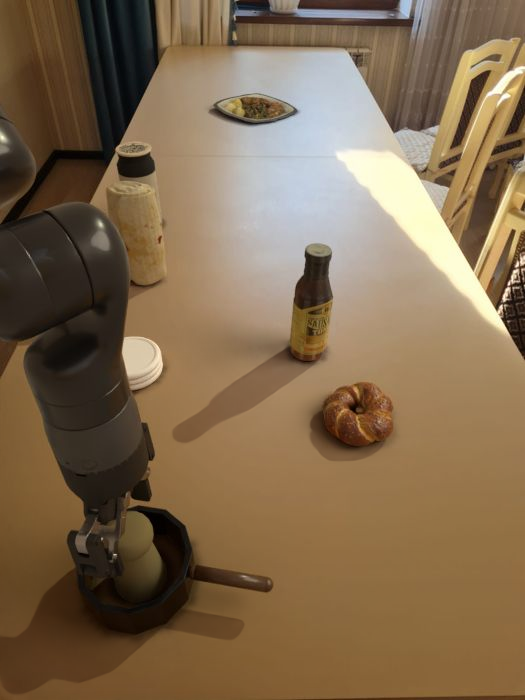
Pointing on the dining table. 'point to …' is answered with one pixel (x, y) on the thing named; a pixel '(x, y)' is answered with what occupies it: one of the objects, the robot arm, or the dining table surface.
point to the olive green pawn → (138, 560)
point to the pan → (177, 593)
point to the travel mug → (137, 165)
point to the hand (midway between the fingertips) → (128, 533)
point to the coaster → (141, 361)
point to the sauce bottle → (312, 305)
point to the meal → (255, 108)
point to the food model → (138, 229)
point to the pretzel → (358, 414)
